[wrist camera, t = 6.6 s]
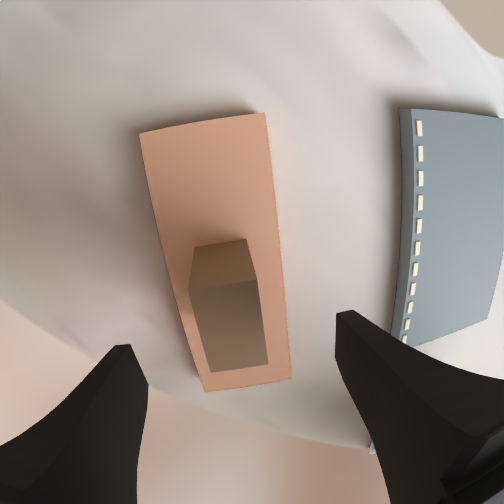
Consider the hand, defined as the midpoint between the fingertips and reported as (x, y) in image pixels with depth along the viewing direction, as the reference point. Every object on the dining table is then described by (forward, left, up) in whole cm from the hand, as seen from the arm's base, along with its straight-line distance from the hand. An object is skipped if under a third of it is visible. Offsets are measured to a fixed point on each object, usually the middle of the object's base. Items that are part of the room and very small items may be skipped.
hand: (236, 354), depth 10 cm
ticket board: (0, -14, -6) cm, 16 cm away
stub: (0, 0, -6) cm, 6 cm away
